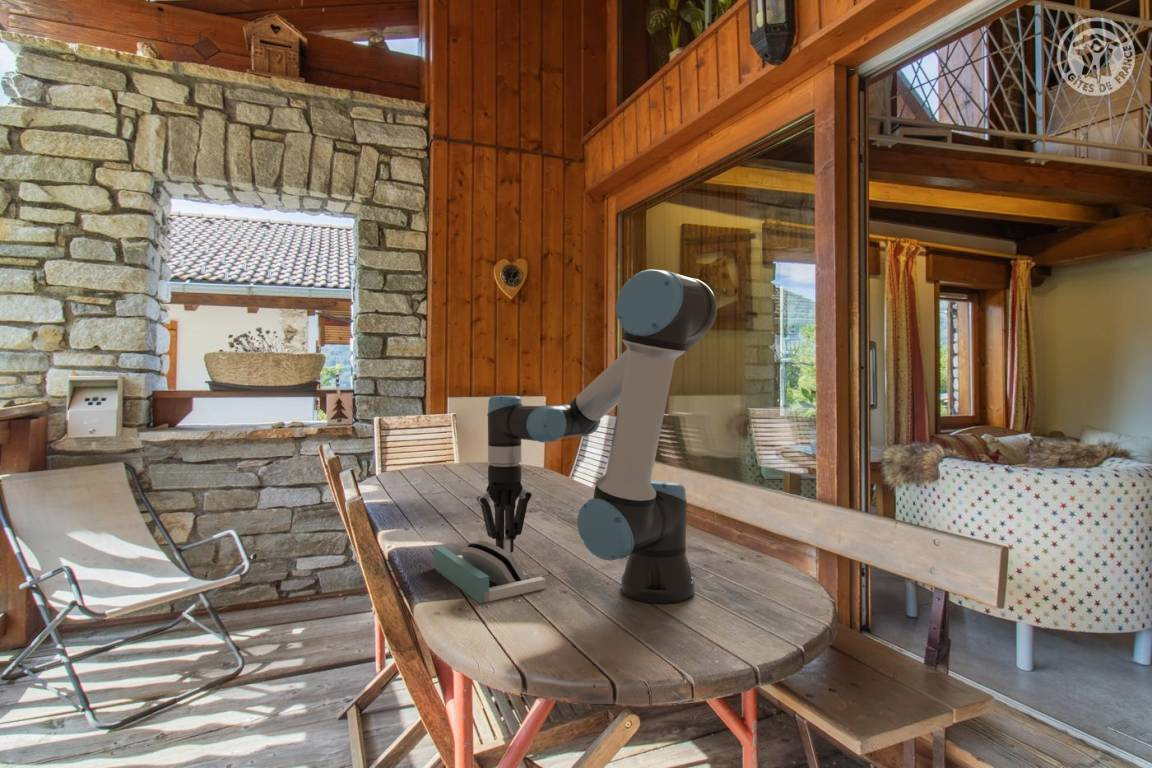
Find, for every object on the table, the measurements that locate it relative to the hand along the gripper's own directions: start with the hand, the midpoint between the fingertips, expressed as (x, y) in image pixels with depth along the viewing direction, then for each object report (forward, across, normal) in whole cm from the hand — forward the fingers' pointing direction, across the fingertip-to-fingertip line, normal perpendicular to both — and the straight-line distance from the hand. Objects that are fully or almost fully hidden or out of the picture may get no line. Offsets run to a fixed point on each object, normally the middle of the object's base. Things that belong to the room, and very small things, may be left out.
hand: (504, 567), depth 136 cm
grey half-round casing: (+2, +3, +3) cm, 5 cm away
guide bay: (+2, +4, 0) cm, 4 cm away
